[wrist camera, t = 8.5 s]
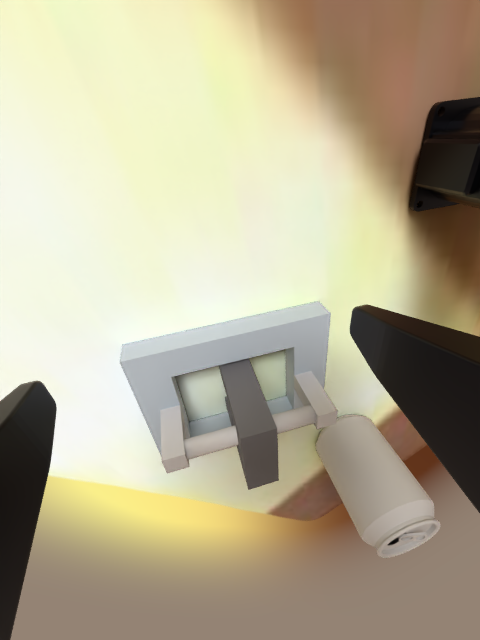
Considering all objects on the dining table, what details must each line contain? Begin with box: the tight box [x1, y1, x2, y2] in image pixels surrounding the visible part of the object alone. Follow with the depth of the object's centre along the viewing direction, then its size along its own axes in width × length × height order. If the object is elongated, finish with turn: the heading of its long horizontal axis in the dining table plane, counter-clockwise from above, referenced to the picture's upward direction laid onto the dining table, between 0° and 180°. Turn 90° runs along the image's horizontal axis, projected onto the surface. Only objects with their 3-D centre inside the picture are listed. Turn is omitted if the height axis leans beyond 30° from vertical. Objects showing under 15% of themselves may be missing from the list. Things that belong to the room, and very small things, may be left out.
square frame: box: [120, 301, 338, 473], centre depth 24 cm, size 16×13×6 cm
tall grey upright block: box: [219, 358, 279, 490], centre depth 23 cm, size 2×7×8 cm, turn 6°
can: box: [316, 414, 440, 558], centre depth 31 cm, size 8×8×12 cm
